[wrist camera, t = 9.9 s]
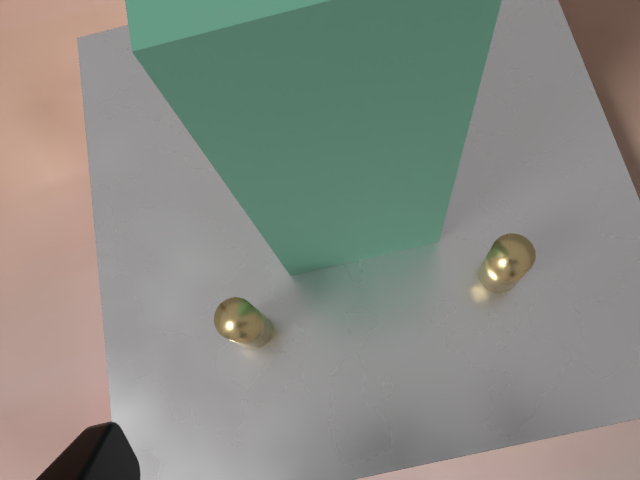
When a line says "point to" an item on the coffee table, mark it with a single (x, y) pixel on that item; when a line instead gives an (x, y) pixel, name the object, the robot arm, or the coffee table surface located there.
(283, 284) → the chassis
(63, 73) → the coffee table surface
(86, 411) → the coffee table surface
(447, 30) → the green block
